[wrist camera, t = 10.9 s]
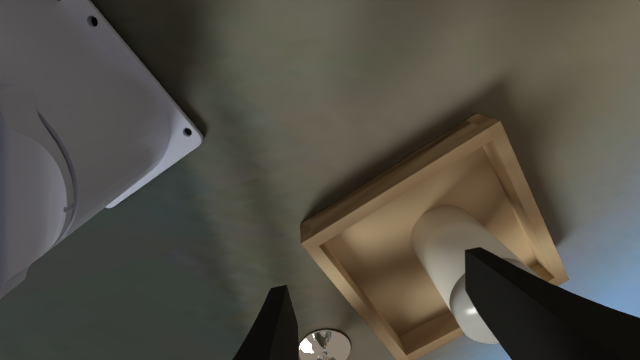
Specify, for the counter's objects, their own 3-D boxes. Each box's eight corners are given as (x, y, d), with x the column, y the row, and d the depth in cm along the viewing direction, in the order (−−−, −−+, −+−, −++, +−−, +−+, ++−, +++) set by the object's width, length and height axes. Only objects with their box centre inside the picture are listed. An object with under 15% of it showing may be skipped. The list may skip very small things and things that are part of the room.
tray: (300, 224, 22) (300, 243, 19) (476, 113, 20) (500, 120, 17) (392, 339, 26) (401, 366, 24) (543, 258, 24) (569, 279, 22)
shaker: (410, 209, 21) (461, 277, 15) (477, 201, 21) (557, 264, 15) (410, 265, 23) (455, 348, 16) (471, 258, 23) (541, 337, 16)
